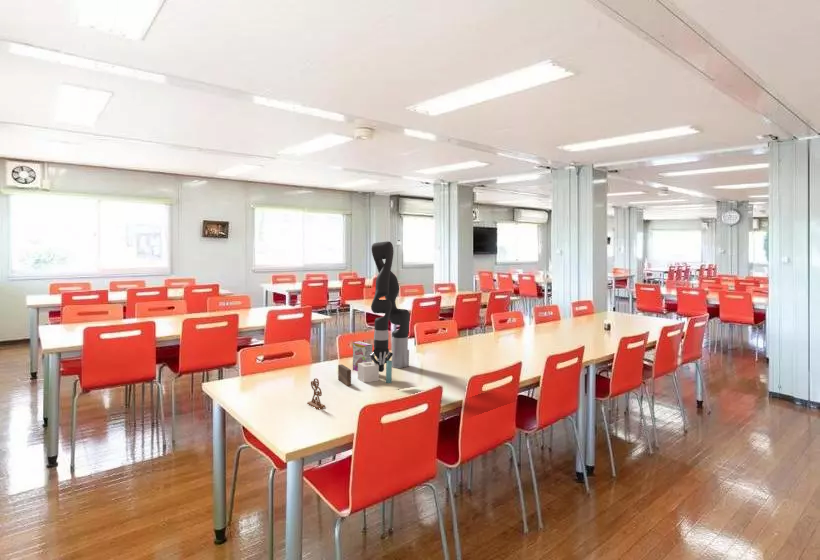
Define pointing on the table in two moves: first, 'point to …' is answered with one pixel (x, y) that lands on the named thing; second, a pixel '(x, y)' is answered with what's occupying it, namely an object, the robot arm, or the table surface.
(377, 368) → the socket block
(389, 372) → the teal dowel
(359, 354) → the candy bar box
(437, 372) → the table surface
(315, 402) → the brown carved figurine
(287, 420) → the table surface
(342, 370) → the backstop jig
